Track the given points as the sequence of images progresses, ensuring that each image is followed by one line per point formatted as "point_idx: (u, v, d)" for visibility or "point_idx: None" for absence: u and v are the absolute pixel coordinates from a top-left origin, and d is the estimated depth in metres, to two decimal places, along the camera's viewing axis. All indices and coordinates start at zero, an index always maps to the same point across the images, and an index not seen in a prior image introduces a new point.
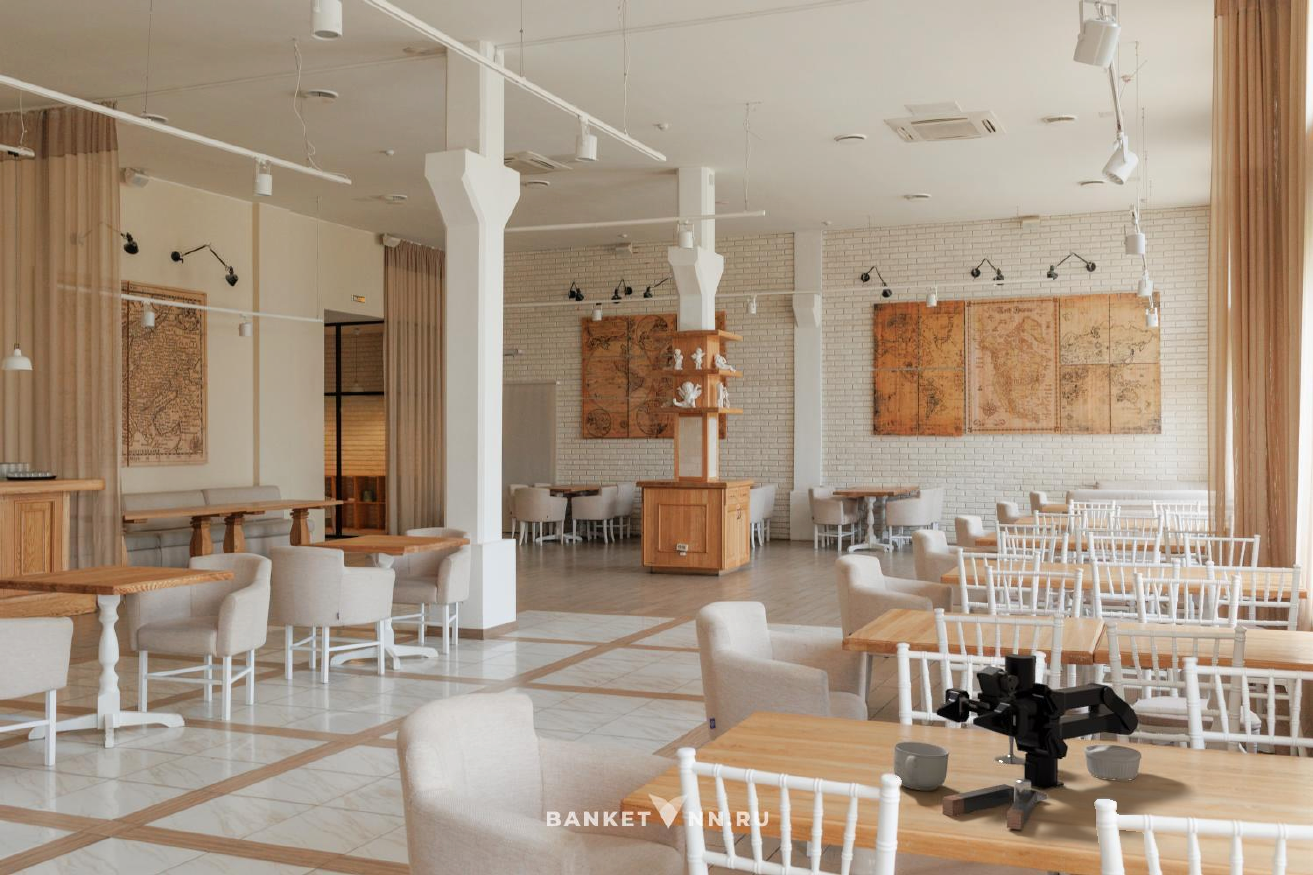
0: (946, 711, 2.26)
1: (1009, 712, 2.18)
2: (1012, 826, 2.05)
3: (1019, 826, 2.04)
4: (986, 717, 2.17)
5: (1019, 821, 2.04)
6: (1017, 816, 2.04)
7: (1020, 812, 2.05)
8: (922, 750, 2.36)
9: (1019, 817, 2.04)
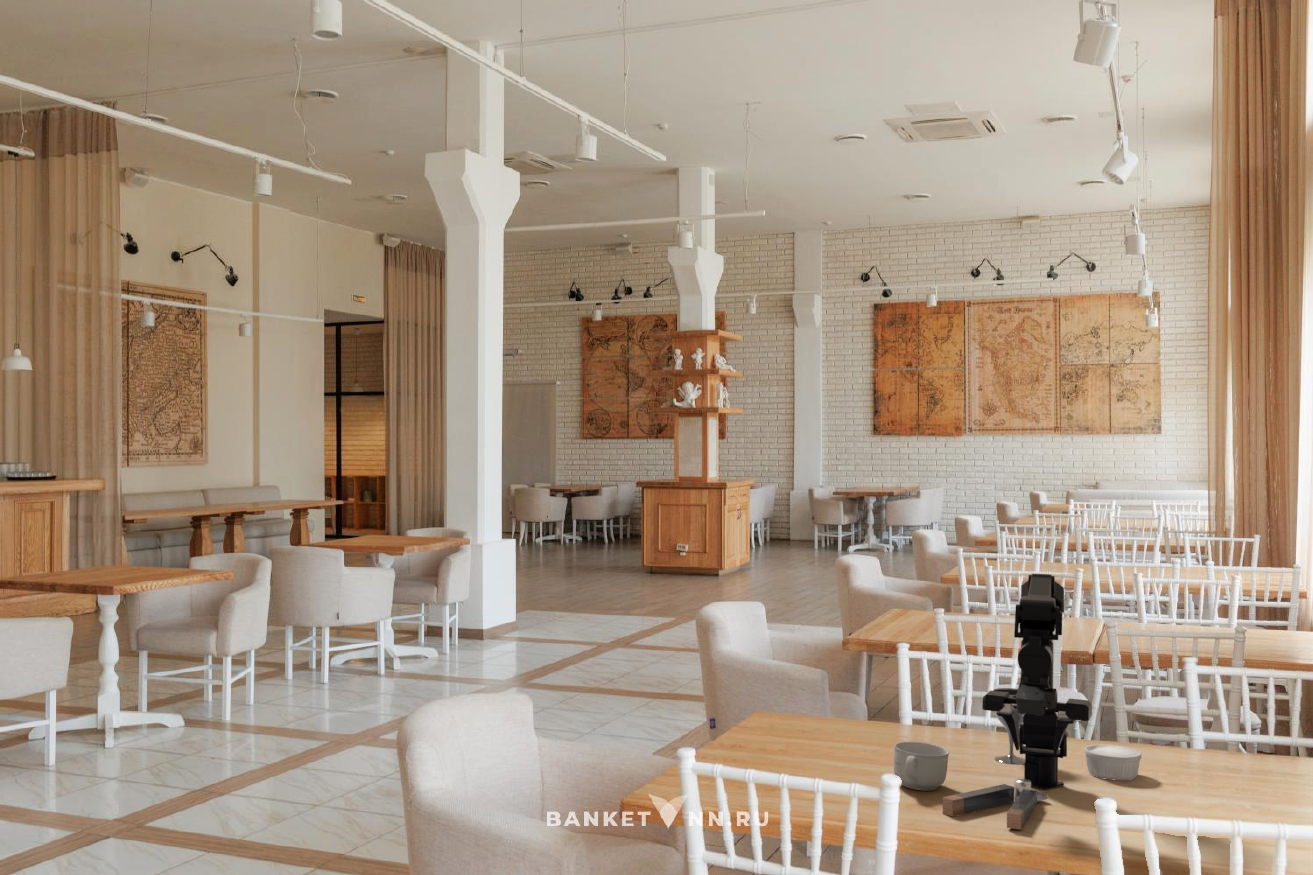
0: (1018, 735, 2.14)
1: None
2: (1012, 826, 2.05)
3: (1019, 826, 2.04)
4: (1060, 742, 2.10)
5: (1019, 821, 2.04)
6: (1017, 816, 2.04)
7: (1020, 812, 2.05)
8: (922, 750, 2.36)
9: (1019, 817, 2.04)
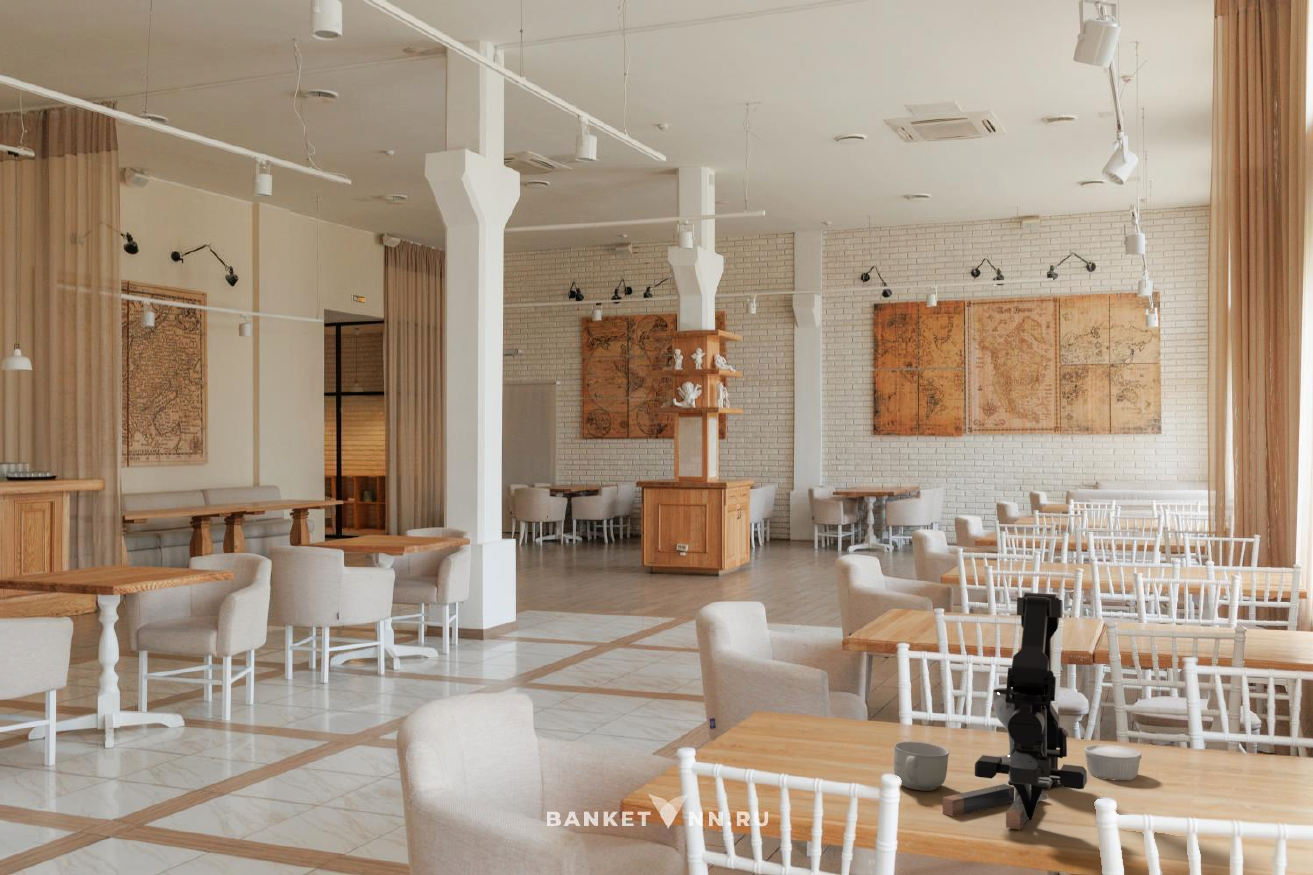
0: None
1: None
2: (1011, 826, 2.05)
3: (1018, 826, 2.04)
4: (1035, 807, 2.06)
5: (1018, 821, 2.04)
6: (1016, 816, 2.04)
7: (1019, 812, 2.05)
8: (922, 750, 2.36)
9: (1018, 817, 2.04)
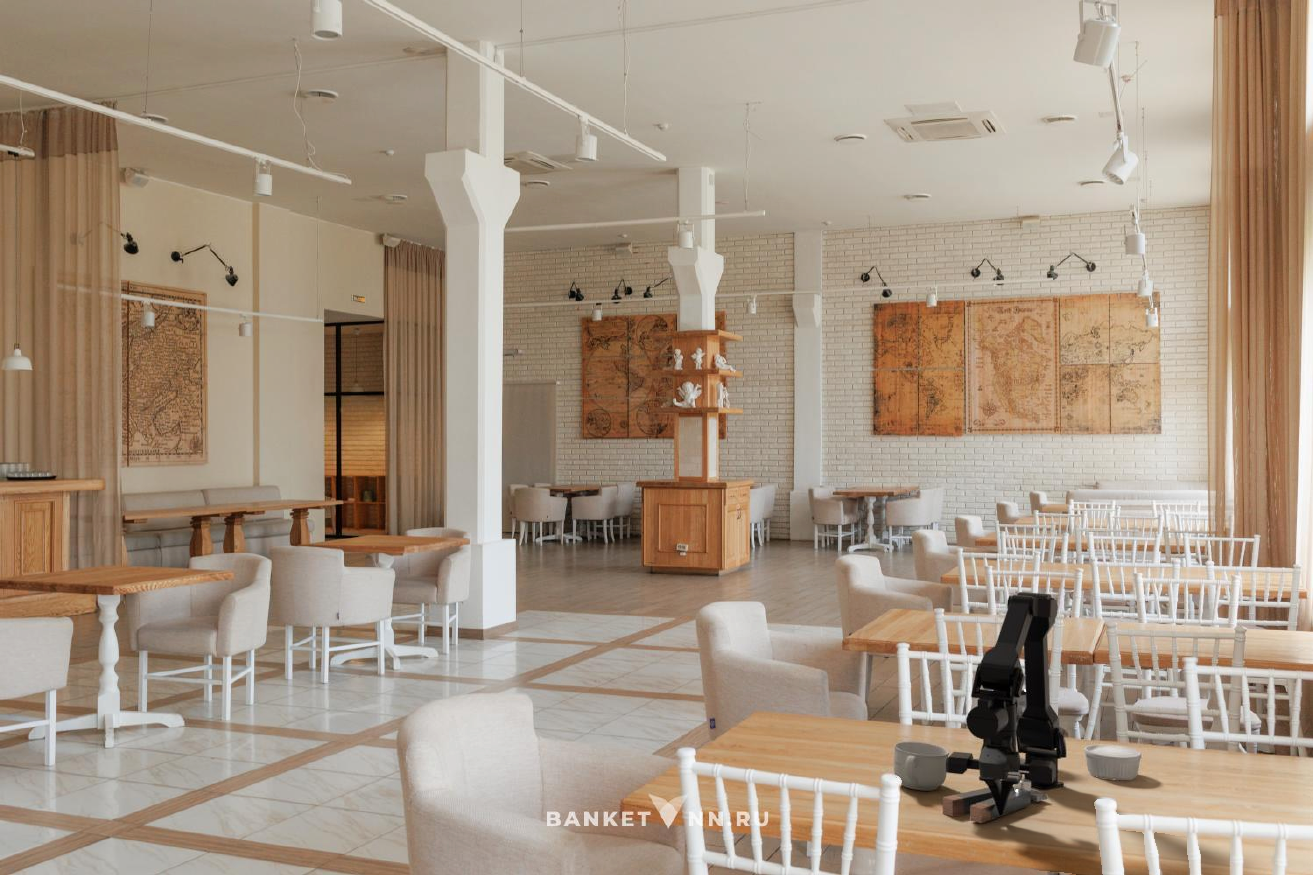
0: None
1: None
2: (974, 819, 2.08)
3: (980, 820, 2.07)
4: (1005, 802, 2.08)
5: (980, 815, 2.07)
6: (978, 810, 2.08)
7: (984, 806, 2.08)
8: (922, 750, 2.36)
9: (980, 811, 2.07)
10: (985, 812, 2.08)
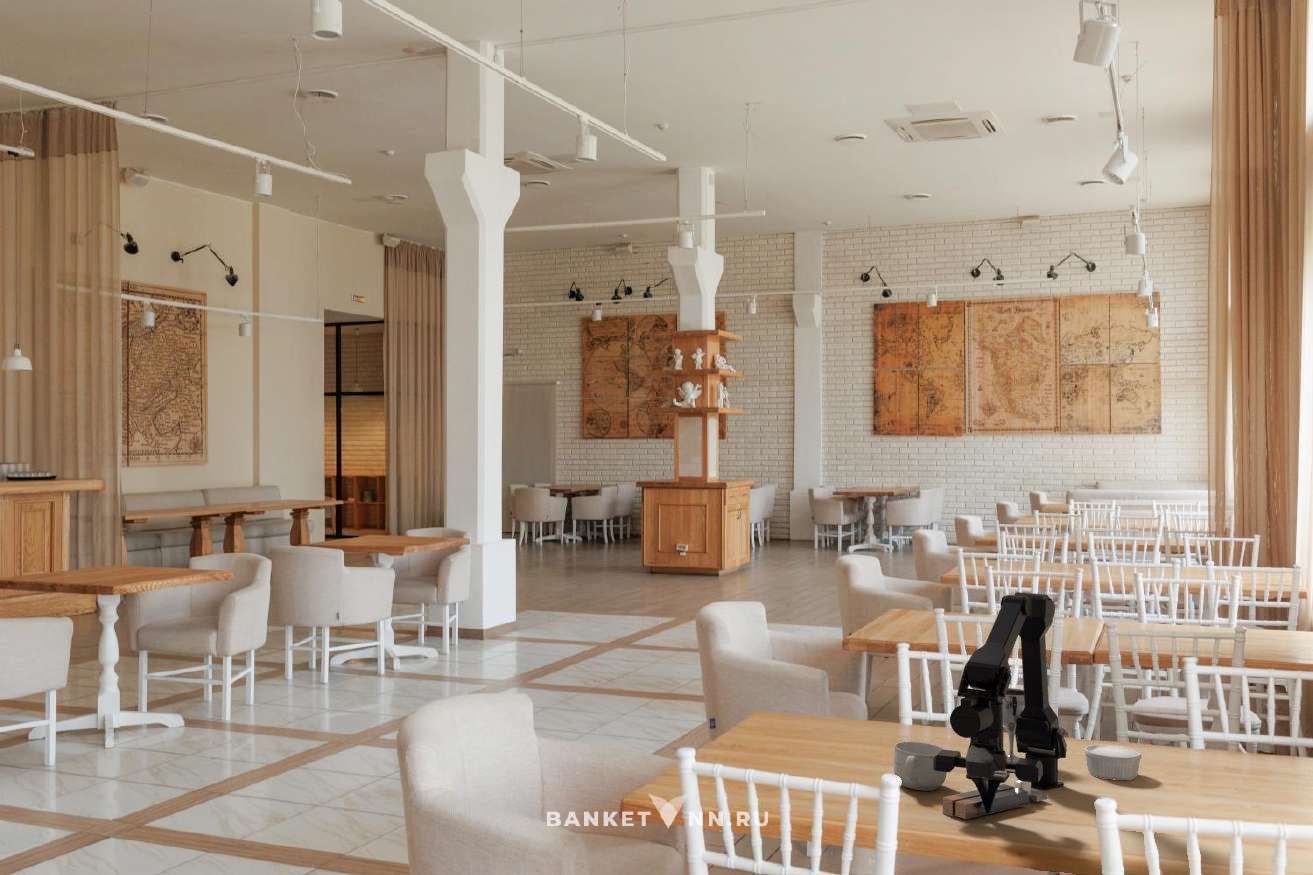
0: None
1: None
2: (959, 815, 2.11)
3: (964, 815, 2.10)
4: (992, 800, 2.10)
5: (964, 811, 2.10)
6: (963, 806, 2.10)
7: (969, 803, 2.11)
8: (922, 750, 2.36)
9: (964, 807, 2.10)
10: (970, 808, 2.10)
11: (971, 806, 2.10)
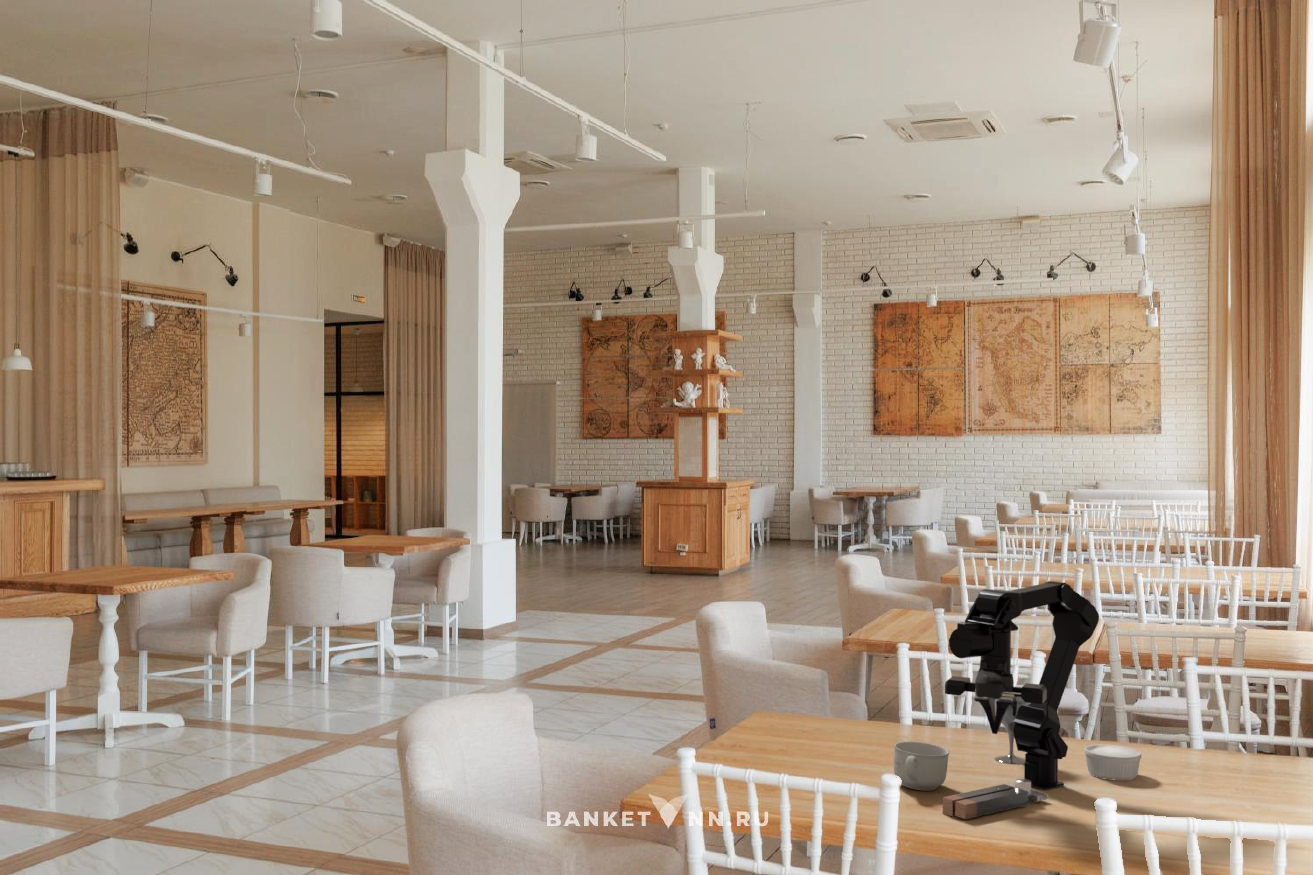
0: (994, 720, 2.27)
1: None
2: (959, 815, 2.11)
3: (964, 815, 2.10)
4: (1000, 722, 2.26)
5: (964, 811, 2.10)
6: (962, 805, 2.10)
7: (969, 803, 2.11)
8: (922, 750, 2.36)
9: (964, 807, 2.10)
10: (969, 808, 2.10)
11: (971, 806, 2.10)
